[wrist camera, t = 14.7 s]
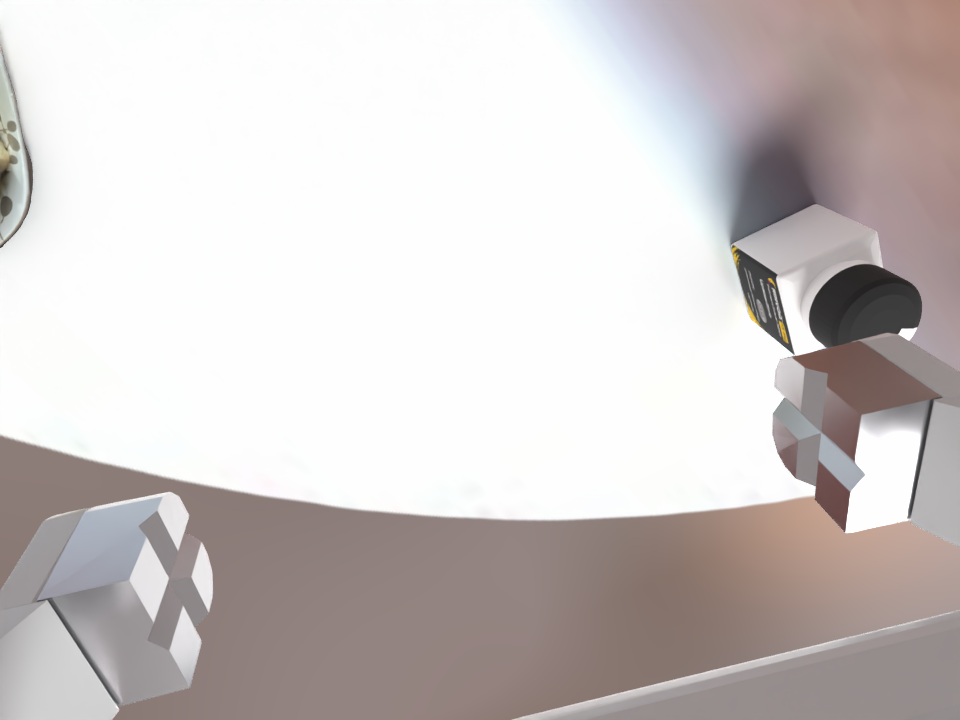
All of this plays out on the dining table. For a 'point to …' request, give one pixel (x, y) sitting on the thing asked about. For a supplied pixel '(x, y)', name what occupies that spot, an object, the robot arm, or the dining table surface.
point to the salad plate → (12, 162)
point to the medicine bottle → (822, 282)
